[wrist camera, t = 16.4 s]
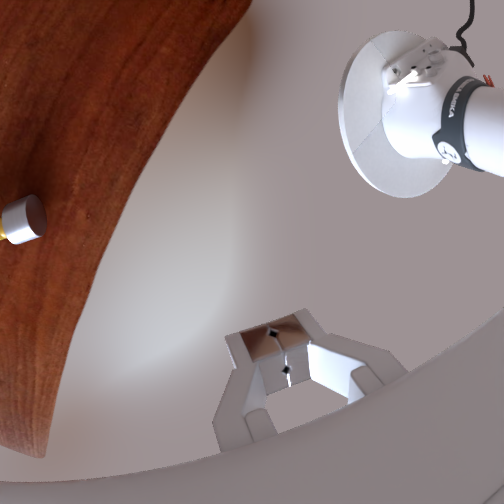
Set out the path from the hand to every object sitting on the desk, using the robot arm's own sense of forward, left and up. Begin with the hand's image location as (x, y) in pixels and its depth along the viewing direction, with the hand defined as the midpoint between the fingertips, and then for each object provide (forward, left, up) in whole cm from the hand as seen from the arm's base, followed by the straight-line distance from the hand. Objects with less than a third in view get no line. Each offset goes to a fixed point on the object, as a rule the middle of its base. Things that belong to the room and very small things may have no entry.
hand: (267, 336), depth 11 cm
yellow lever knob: (+12, -11, -24) cm, 30 cm away
